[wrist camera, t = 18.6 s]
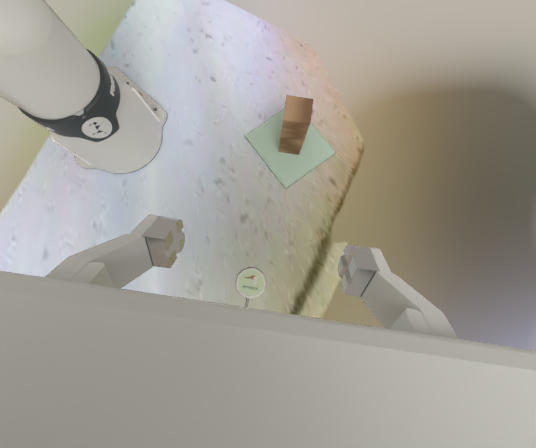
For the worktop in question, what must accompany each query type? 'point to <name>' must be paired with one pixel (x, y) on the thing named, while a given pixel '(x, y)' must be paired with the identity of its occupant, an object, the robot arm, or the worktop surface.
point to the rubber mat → (286, 164)
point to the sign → (250, 283)
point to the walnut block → (295, 124)
